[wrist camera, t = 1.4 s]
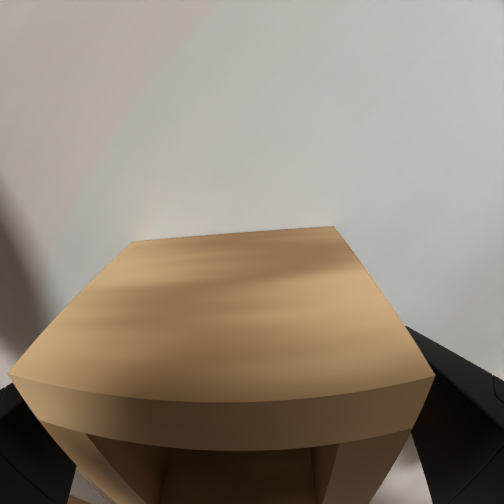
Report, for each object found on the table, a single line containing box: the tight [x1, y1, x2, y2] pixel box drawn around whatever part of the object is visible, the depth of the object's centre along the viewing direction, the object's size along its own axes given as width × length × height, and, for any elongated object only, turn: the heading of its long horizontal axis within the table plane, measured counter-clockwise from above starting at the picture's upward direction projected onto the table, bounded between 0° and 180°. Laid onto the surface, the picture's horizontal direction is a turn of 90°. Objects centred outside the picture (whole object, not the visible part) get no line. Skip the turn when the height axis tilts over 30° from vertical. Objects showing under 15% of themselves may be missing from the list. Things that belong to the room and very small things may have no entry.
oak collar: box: [7, 226, 435, 504], centre depth 7 cm, size 6×6×6 cm
